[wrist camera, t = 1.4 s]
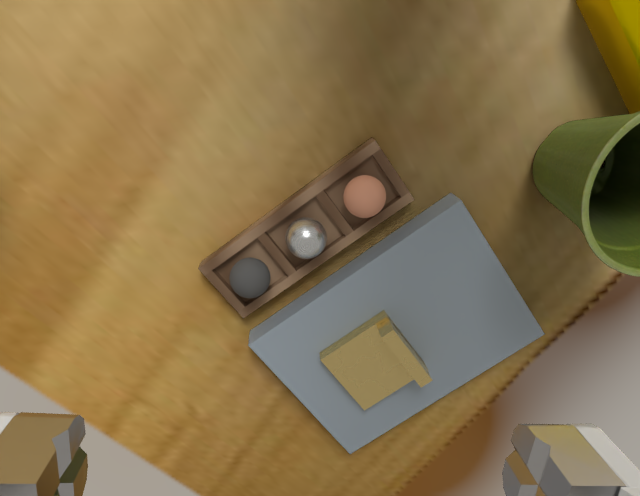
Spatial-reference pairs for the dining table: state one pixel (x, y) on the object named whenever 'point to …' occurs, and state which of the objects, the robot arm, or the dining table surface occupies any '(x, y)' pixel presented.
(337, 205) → the rack
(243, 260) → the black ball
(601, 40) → the element tile
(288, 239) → the steel ball
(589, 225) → the plant pot
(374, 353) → the brass cover
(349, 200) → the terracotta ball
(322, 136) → the dining table surface
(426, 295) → the grey flat slab
